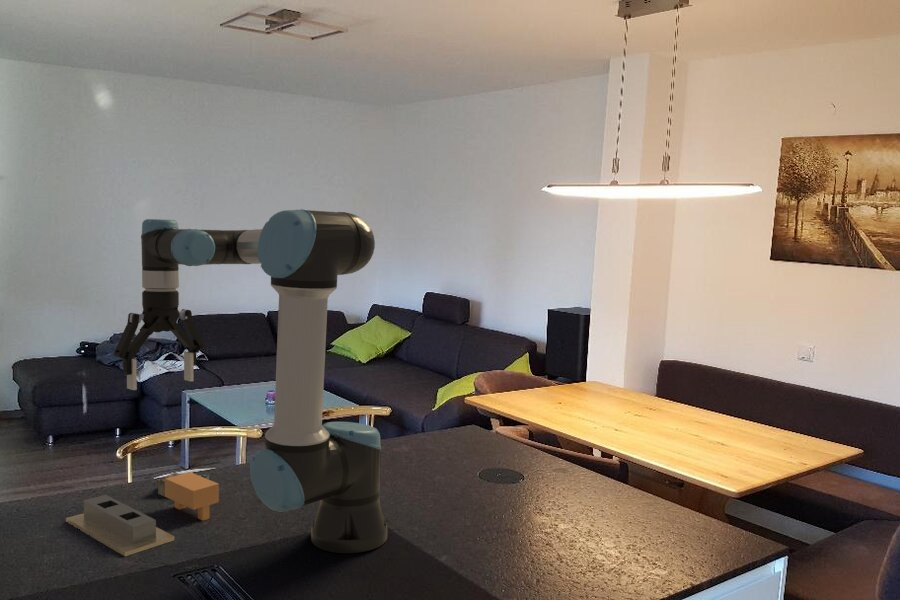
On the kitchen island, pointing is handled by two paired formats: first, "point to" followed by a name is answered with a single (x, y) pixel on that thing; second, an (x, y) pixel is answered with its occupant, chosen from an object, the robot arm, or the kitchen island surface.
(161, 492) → the egg carton
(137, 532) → the beige grey stepped block
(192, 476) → the orange toy brick
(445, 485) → the kitchen island surface
